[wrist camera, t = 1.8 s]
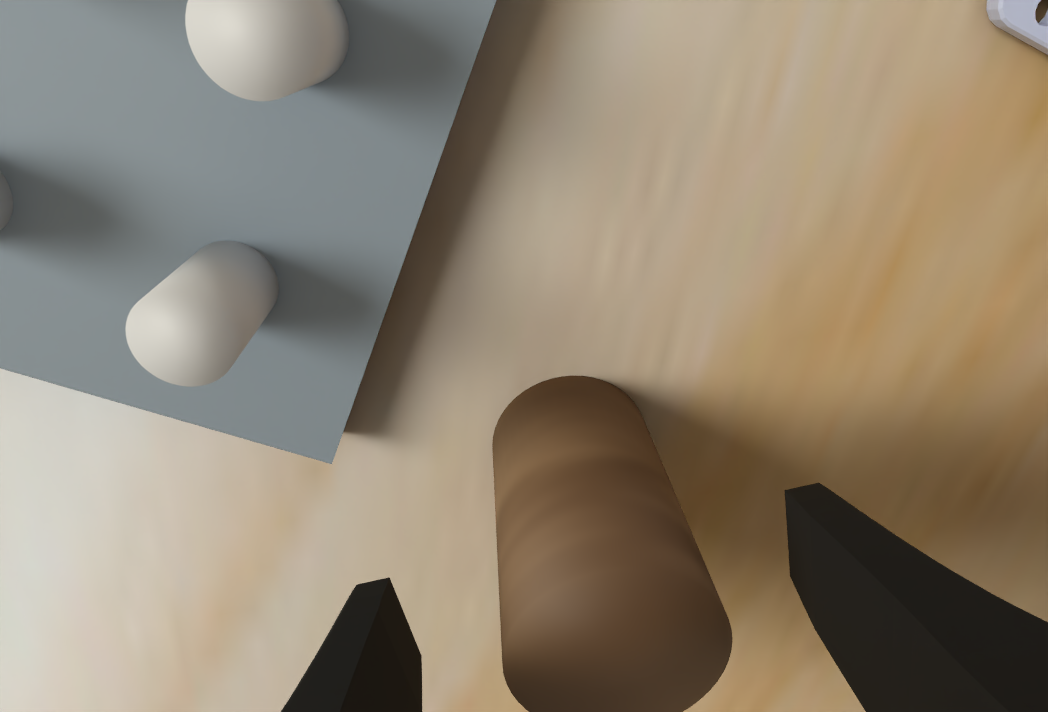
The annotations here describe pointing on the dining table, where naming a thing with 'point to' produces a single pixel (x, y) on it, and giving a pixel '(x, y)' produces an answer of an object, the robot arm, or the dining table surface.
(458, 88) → the peg pad
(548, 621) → the walnut pin
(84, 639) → the dining table surface
